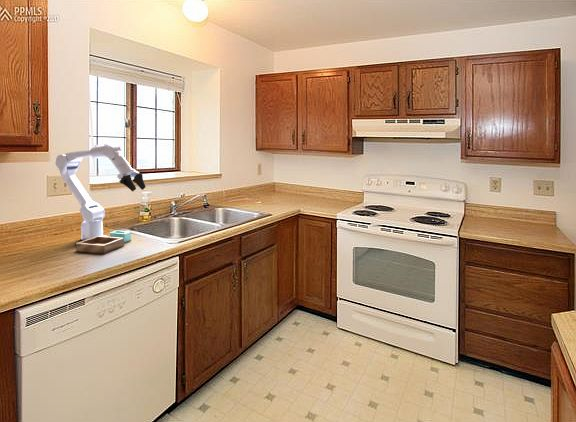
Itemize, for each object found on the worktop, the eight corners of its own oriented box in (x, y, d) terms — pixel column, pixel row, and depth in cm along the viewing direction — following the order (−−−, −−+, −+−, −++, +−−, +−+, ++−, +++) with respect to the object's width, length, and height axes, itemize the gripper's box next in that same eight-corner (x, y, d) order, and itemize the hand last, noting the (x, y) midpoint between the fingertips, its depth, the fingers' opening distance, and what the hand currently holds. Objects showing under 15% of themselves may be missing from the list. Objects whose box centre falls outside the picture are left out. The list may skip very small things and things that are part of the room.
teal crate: (110, 241, 187) (109, 232, 186) (116, 239, 191) (116, 230, 191) (124, 242, 185) (124, 233, 184) (131, 240, 190) (130, 231, 189)
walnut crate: (76, 251, 169) (75, 243, 169) (98, 243, 183) (97, 235, 182) (104, 253, 166) (103, 245, 166) (124, 245, 180) (123, 237, 179)
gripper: (118, 161, 174) (135, 185, 174) (137, 160, 188) (153, 183, 188) (108, 170, 176) (125, 194, 176) (127, 169, 190) (143, 191, 190)
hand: (139, 189), depth 182 cm, fingers open, 7 cm apart
